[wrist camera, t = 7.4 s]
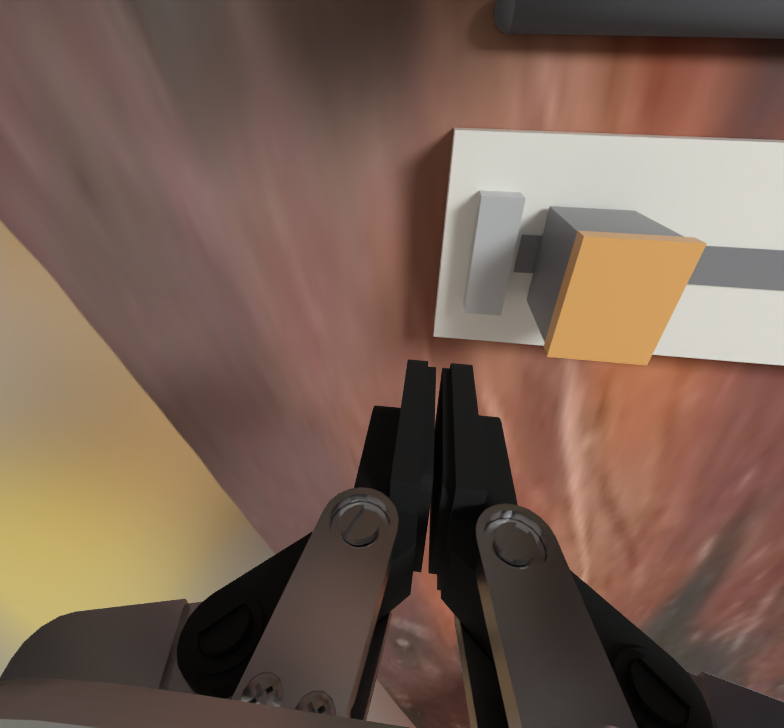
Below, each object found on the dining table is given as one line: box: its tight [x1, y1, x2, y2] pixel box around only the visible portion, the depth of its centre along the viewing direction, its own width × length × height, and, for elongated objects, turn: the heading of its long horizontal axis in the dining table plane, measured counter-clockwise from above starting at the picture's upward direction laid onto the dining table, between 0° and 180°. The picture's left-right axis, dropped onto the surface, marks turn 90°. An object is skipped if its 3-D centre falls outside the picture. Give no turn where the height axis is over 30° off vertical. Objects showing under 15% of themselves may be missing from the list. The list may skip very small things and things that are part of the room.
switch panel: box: [434, 128, 784, 366], centre depth 20 cm, size 11×26×4 cm, turn 88°
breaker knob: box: [527, 206, 707, 365], centre depth 17 cm, size 5×4×6 cm
